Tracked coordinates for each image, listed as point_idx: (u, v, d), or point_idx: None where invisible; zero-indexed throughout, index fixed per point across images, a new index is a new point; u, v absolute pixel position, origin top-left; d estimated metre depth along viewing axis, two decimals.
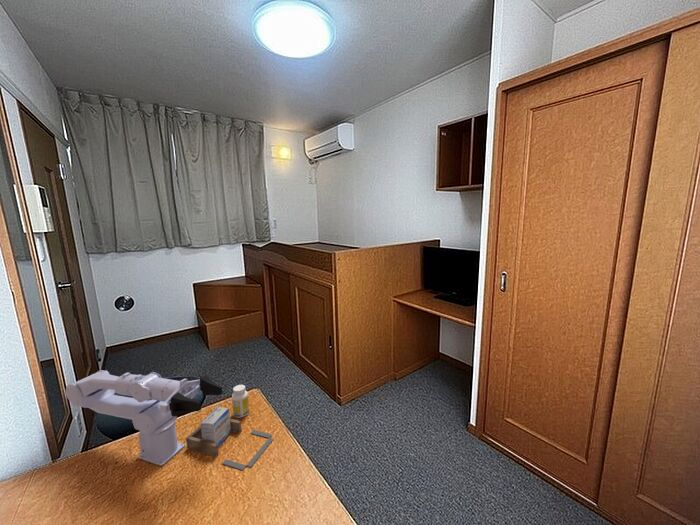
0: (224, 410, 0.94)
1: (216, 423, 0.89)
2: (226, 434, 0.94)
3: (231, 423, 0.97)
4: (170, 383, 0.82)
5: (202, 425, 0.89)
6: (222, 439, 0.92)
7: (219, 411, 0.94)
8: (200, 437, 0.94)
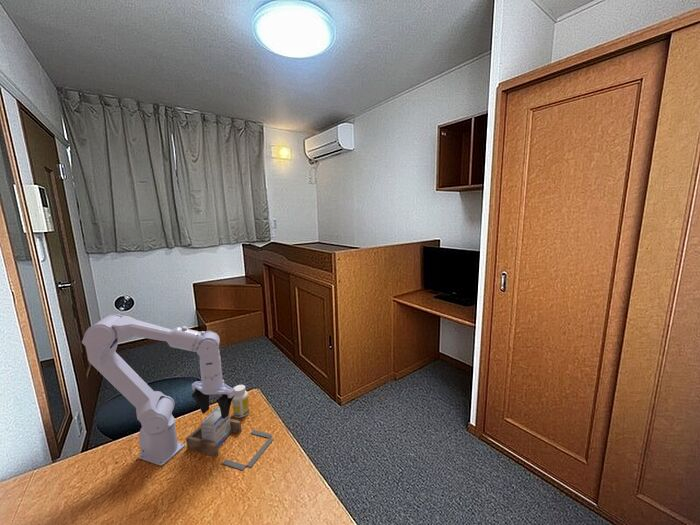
0: None
1: (216, 423, 0.89)
2: (226, 434, 0.94)
3: (231, 423, 0.97)
4: None
5: (202, 425, 0.89)
6: (222, 439, 0.92)
7: (219, 411, 0.94)
8: (200, 437, 0.94)
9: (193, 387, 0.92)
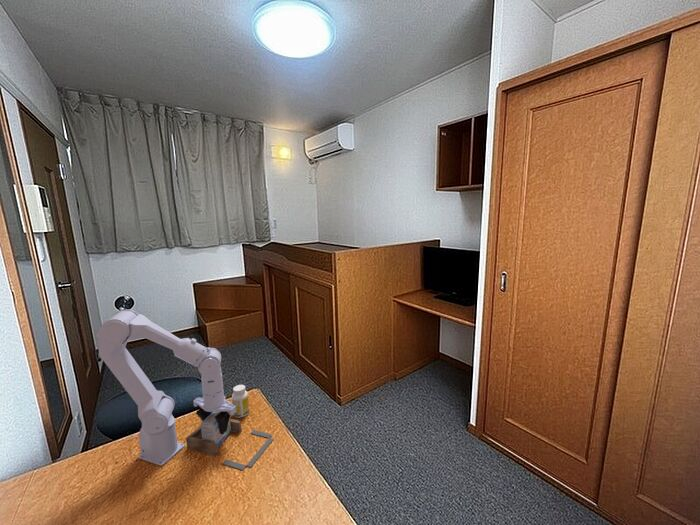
0: None
1: (216, 423, 0.89)
2: (226, 434, 0.94)
3: (231, 423, 0.97)
4: None
5: (202, 425, 0.89)
6: (222, 439, 0.92)
7: None
8: (200, 437, 0.94)
9: (195, 403, 0.93)
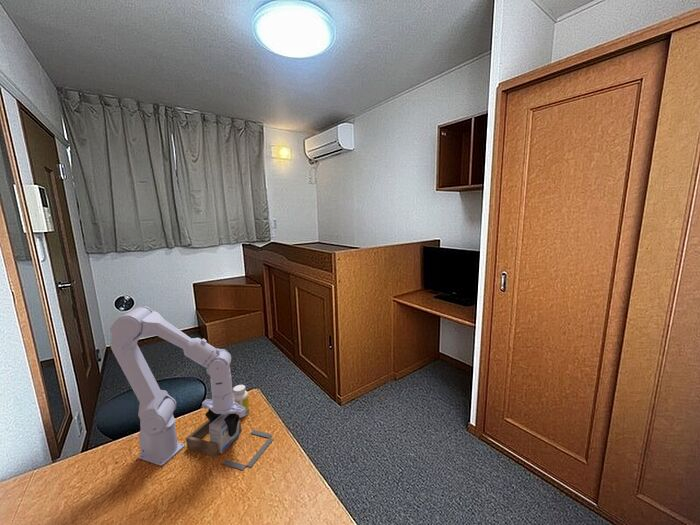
0: None
1: (224, 426, 0.88)
2: (233, 437, 0.93)
3: None
4: None
5: (210, 426, 0.88)
6: (229, 442, 0.91)
7: None
8: (200, 437, 0.94)
9: (203, 405, 0.92)
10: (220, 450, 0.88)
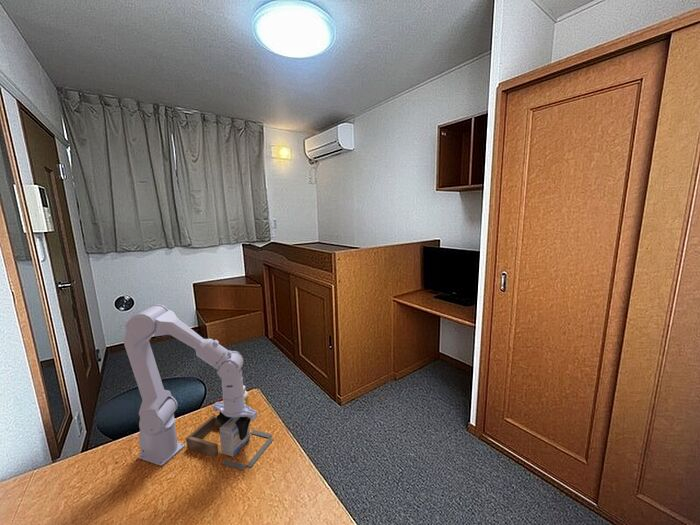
0: None
1: (235, 429, 0.86)
2: (244, 441, 0.91)
3: None
4: None
5: (221, 430, 0.86)
6: (240, 446, 0.89)
7: None
8: (200, 437, 0.94)
9: (214, 408, 0.90)
10: (231, 454, 0.86)
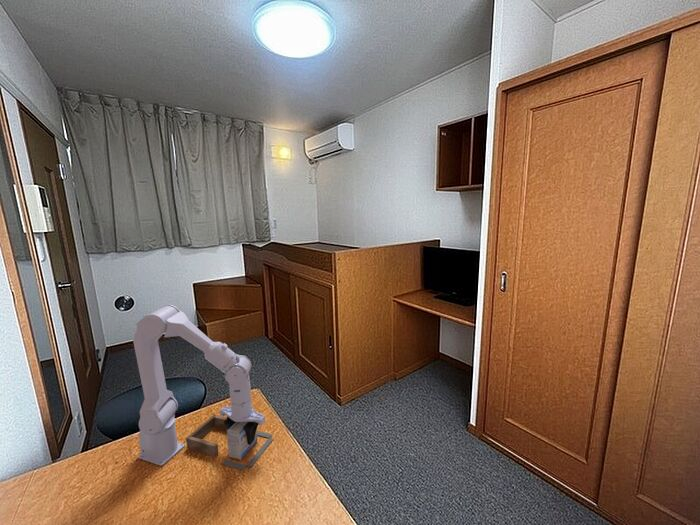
0: None
1: (242, 432, 0.85)
2: (252, 443, 0.90)
3: None
4: None
5: (228, 432, 0.85)
6: (248, 448, 0.88)
7: None
8: (200, 437, 0.94)
9: (221, 413, 0.90)
10: (239, 457, 0.85)
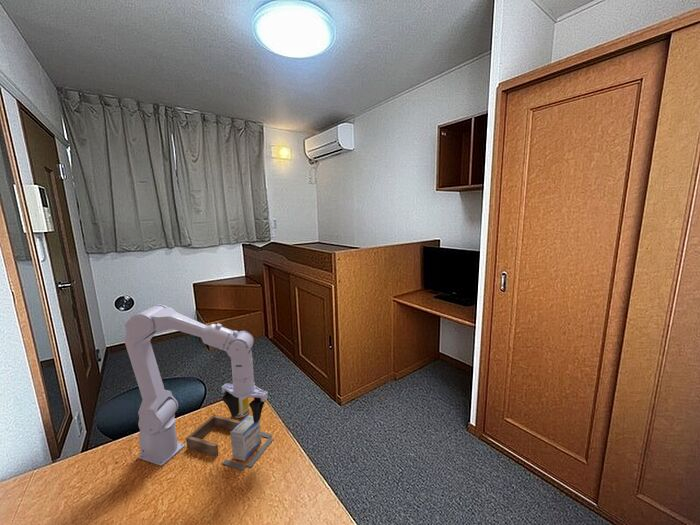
0: None
1: (246, 433, 0.85)
2: (256, 444, 0.90)
3: (231, 423, 0.97)
4: None
5: (232, 434, 0.85)
6: (252, 450, 0.88)
7: (249, 420, 0.90)
8: (200, 437, 0.94)
9: (223, 390, 0.88)
10: (243, 458, 0.85)
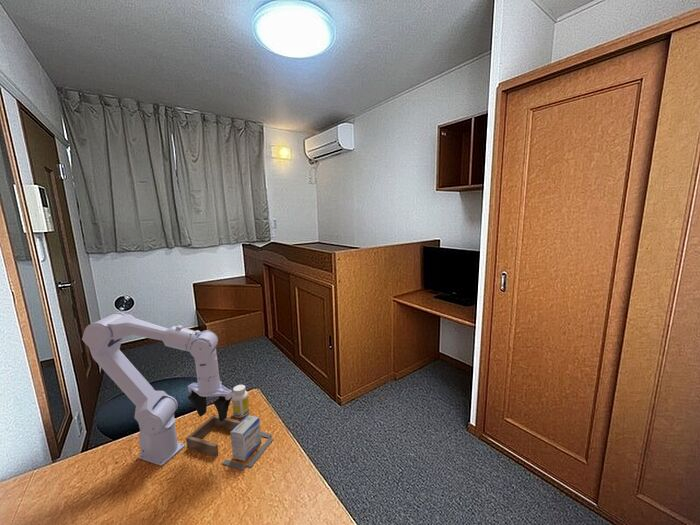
0: (254, 419, 0.90)
1: (246, 433, 0.85)
2: (256, 444, 0.90)
3: (231, 423, 0.97)
4: None
5: (232, 434, 0.85)
6: (252, 450, 0.88)
7: (249, 420, 0.90)
8: (200, 437, 0.94)
9: (189, 389, 0.88)
10: (243, 458, 0.85)
